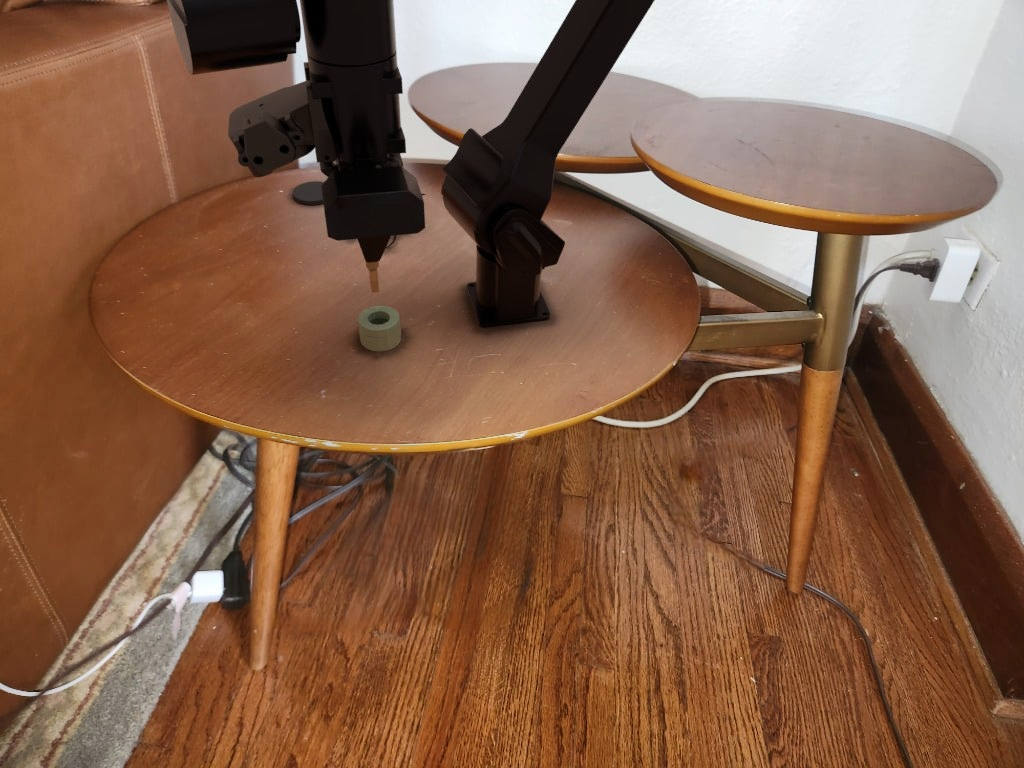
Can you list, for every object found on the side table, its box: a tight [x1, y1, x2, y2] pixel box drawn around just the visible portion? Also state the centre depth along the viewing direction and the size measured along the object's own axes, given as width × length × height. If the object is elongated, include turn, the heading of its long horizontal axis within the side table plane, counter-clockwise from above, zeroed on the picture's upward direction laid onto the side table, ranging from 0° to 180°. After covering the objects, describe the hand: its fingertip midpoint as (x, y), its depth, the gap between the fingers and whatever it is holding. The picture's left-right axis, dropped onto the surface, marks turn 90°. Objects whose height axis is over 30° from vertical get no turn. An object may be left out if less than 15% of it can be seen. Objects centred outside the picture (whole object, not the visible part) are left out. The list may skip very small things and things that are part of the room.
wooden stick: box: [365, 261, 380, 293], centre depth 60 cm, size 1×1×9 cm
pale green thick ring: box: [357, 304, 402, 352], centre depth 66 cm, size 3×4×2 cm
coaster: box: [292, 180, 325, 206], centre depth 85 cm, size 4×4×1 cm
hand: (371, 256), depth 61 cm, fingers closed on wooden stick, 1 cm apart
